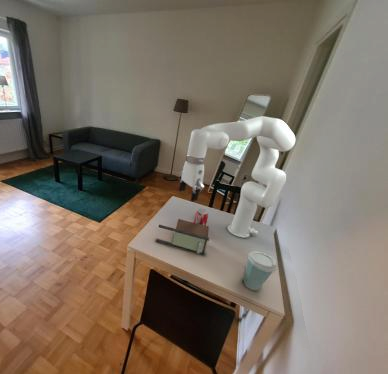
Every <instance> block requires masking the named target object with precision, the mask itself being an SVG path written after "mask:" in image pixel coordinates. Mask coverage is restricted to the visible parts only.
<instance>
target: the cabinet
mask: <svg viewBox="0 0 388 374" xmlns="http://www.w3.org/2000/svg"><path fill="white" fill-rule="evenodd" d="M157 228H160V229H164V230H168V231H171V232H174V233H175V232H178V233H182V234H185V235H189V236H193V237H197V238H200V239H204V240H205V243H204V247H203V251H202V253H201V252H200V253H197V251H194V250H191V249H187V248H184V247H180V246H177V245H173V244H172V243H173V242H170V241H166V240H164V239H163V240H162V239H160V238H156V240H155V242H156V243H158V244H162V245H166V246H168V247H171V248H176V249H179V250H183V251H186V252H190V253H193V254H197V255H200V256H205V255H206V252H205V250H206V246H207V242H208V241H210V237H209V229H210V226H209V225H206V226H205V225H201V224H197V223H194V221H193V222H192V221H189V220H185V219H181V218H178V219H177V222H176V225H175V228H174V227H170V226H167V225H162V224H160V223H159V224H158V227H157Z"/></svg>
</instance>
